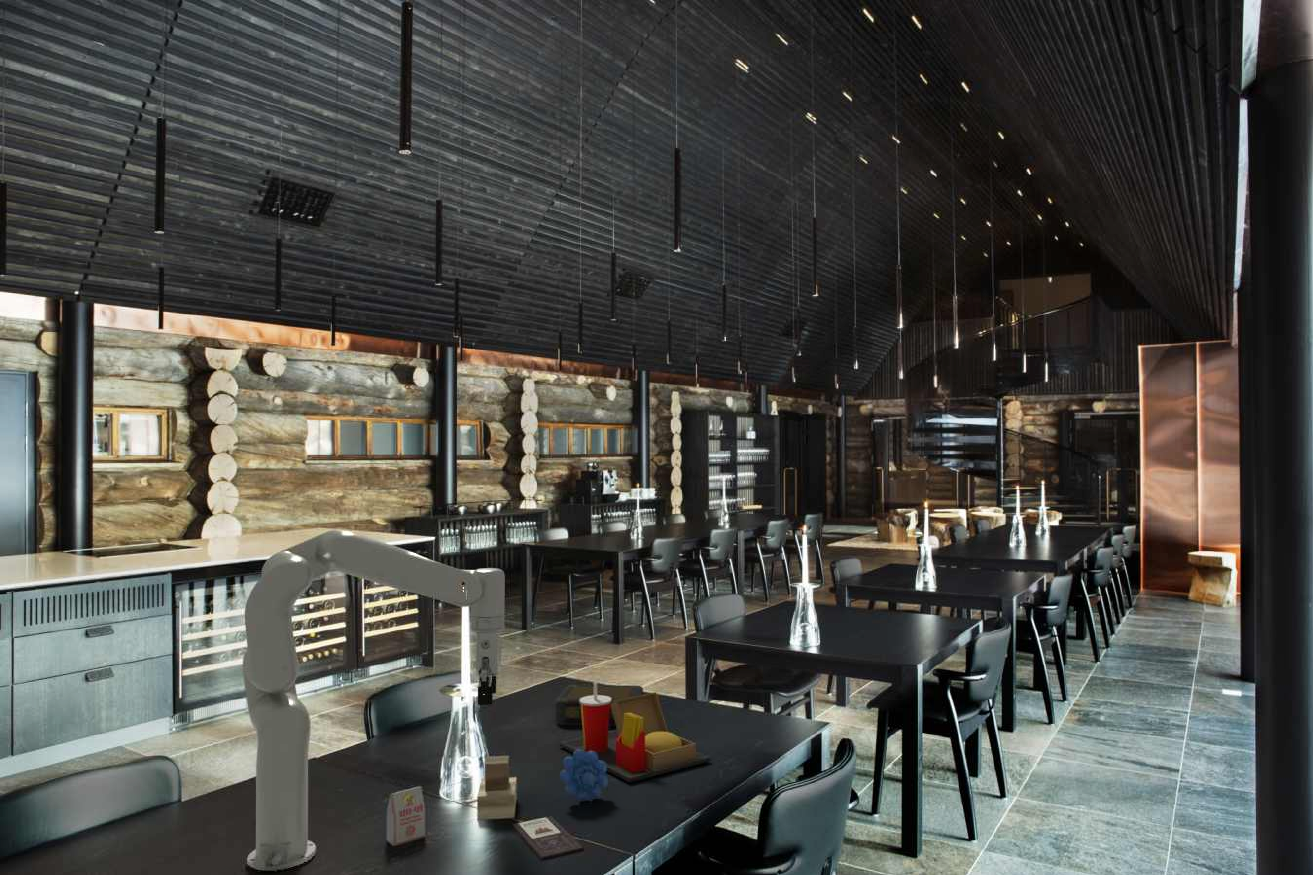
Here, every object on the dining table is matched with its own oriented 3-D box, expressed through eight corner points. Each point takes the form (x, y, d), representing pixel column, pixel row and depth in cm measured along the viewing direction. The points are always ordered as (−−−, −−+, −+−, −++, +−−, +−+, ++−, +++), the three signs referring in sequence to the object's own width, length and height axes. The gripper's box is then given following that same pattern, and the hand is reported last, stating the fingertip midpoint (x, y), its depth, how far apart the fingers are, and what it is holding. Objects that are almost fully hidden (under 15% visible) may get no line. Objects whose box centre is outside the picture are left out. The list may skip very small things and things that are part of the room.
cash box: (643, 708, 275) (643, 684, 275) (636, 727, 255) (636, 701, 255) (567, 707, 277) (567, 683, 277) (554, 726, 257) (554, 700, 257)
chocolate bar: (541, 857, 168) (512, 824, 184) (541, 862, 168) (512, 828, 184) (583, 847, 172) (551, 815, 188) (583, 852, 172) (551, 820, 188)
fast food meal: (629, 786, 207) (628, 709, 208) (559, 749, 236) (559, 681, 237) (710, 764, 222) (709, 692, 223) (635, 732, 251) (635, 668, 251)
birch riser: (514, 817, 188) (514, 794, 189) (477, 819, 188) (477, 796, 188) (516, 798, 199) (516, 776, 200) (481, 800, 198) (481, 778, 199)
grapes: (566, 811, 191) (565, 757, 192) (557, 801, 197) (556, 748, 198) (614, 803, 196) (614, 750, 196) (604, 793, 202) (603, 741, 203)
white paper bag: (386, 840, 178) (386, 791, 178) (417, 831, 182) (417, 783, 182) (393, 846, 175) (393, 796, 175) (424, 836, 179) (424, 788, 180)
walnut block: (507, 789, 191) (507, 762, 192) (485, 791, 191) (485, 764, 191) (509, 781, 196) (508, 755, 197) (487, 783, 196) (486, 756, 196)
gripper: (501, 629, 187) (500, 708, 186) (507, 616, 204) (506, 688, 204) (466, 630, 186) (465, 709, 186) (475, 617, 204) (474, 689, 203)
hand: (487, 698), depth 195 cm, fingers open, 9 cm apart
